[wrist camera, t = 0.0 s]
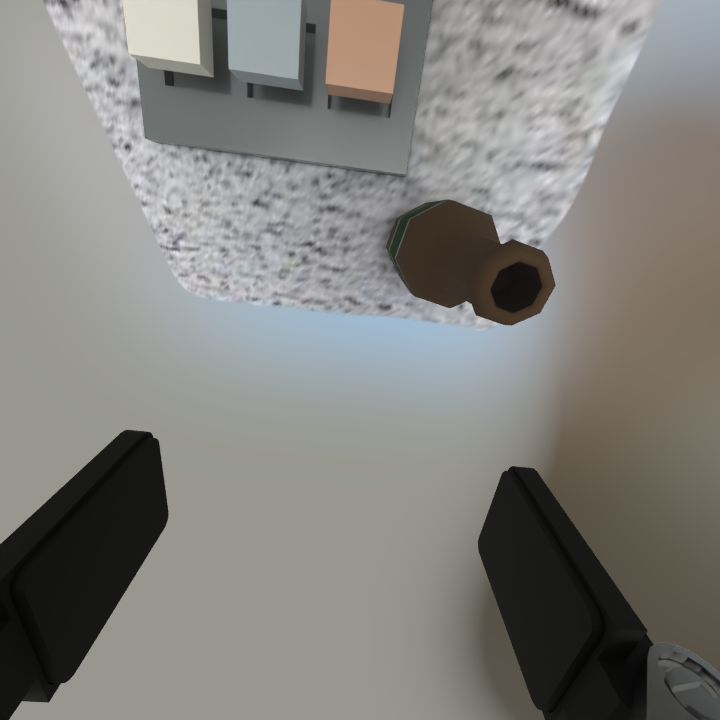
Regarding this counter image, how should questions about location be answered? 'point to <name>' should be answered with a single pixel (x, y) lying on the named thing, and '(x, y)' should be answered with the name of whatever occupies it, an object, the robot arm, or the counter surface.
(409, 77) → the keypad base
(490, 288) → the beer bottle
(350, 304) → the counter surface
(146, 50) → the key ivory
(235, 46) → the key slate
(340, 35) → the key terracotta
